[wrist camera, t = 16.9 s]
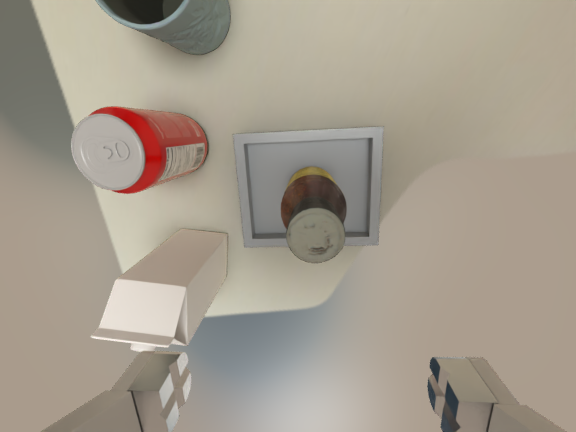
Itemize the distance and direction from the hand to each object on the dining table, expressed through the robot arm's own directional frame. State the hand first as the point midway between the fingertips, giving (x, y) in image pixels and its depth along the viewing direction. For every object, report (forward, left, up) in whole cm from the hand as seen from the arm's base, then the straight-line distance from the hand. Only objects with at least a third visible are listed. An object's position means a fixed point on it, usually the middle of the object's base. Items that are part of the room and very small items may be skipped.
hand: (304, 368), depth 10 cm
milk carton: (+16, +10, -31) cm, 36 cm away
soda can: (+17, -6, -31) cm, 36 cm away
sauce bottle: (0, 0, -30) cm, 30 cm away
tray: (0, 0, -31) cm, 31 cm away
